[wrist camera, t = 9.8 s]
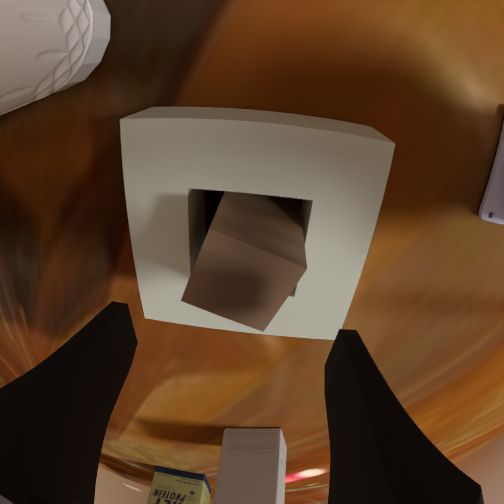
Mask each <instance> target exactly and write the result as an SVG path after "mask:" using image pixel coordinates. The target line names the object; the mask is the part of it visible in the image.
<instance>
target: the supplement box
mask: <svg viewBox="0 0 504 504" xmlns="http://www.w3.org/2000/svg"><path fill="white" fill-rule="evenodd" d="M286 450H287V447H286V443H285V440H284V437H283V434H282V430H281V428H255V429H254V428H225V429H224V434H223V441H222V448H221V455H220V461H219V468H218V475H217V482H216V489H215V496H214V502H213V504H284V494H285V472H286Z"/></svg>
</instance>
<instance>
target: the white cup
mask: <svg viewBox="0 0 504 504" xmlns="http://www.w3.org/2000/svg"><path fill="white" fill-rule="evenodd" d="M110 22H111V16H110V13H109V11H108V9H107V7H106V5H105V3H104V1H103V0H0V116H1V115H3V114H5V113H8V112H10V111H13V110H15V109H18V108H20V107H22V106H25V105H27V104H29V103H31V102H34V101H37V100H39V99H42V98H44V97H46V96H49V95H50V94H52V93H56V92H59V91H62V90H65V89H68V88H70V87H72V86H74V85H76V84H78V83H80V82H82V81H84V80H85V79H86V78H87V77H88V76H89V74H90V73H91V72H92V71H93V70H94V69H95V68H96V67H97V65H98V64H99V63H100V62H101V60H102V57H103V55H104V52H105V50H106V47H107V45H108V43H109V40H110Z"/></svg>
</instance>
